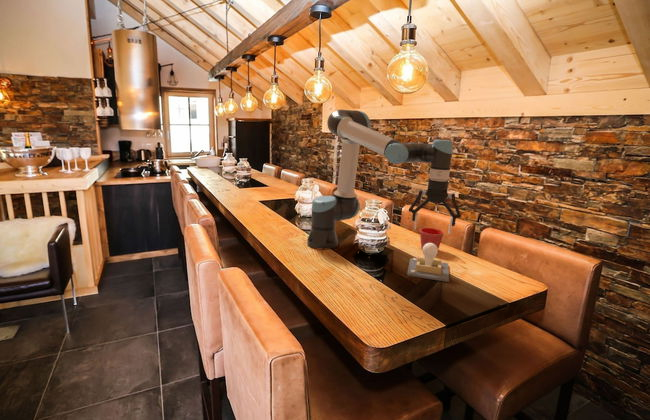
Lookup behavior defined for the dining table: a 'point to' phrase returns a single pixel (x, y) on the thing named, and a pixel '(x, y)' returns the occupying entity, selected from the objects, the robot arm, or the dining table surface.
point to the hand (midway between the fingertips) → (431, 231)
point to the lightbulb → (429, 253)
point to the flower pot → (430, 236)
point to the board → (428, 269)
